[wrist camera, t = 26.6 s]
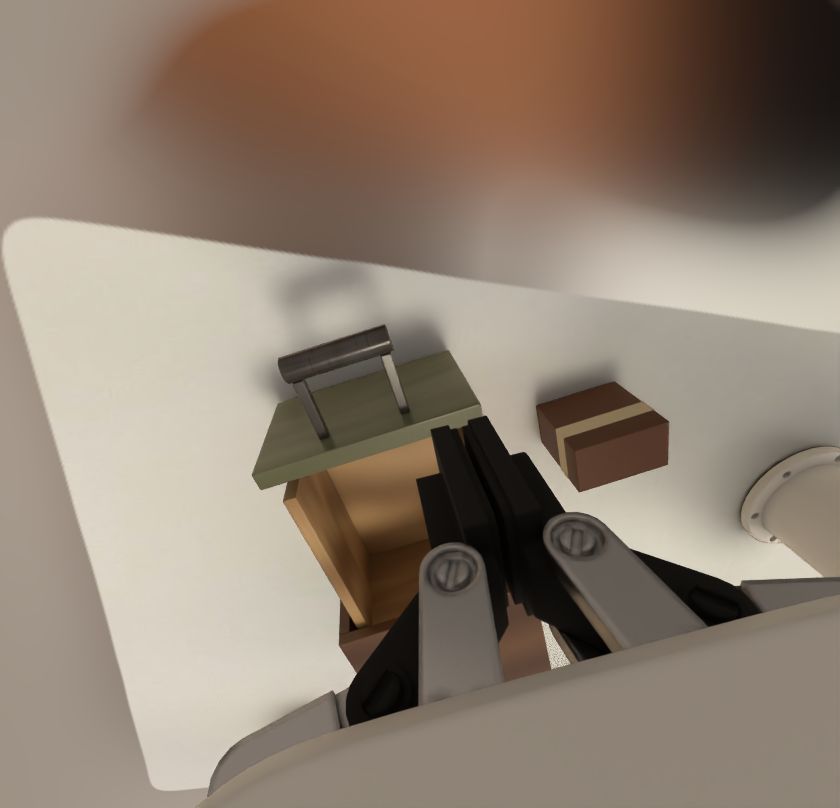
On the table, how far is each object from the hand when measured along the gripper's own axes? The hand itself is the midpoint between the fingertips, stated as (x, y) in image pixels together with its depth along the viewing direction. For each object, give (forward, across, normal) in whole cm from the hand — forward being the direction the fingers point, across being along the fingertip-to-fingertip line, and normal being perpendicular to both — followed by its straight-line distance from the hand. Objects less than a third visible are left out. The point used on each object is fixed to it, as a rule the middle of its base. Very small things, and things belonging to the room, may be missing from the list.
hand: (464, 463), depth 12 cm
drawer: (+19, +3, +11) cm, 22 cm away
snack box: (+20, -13, +13) cm, 27 cm away
